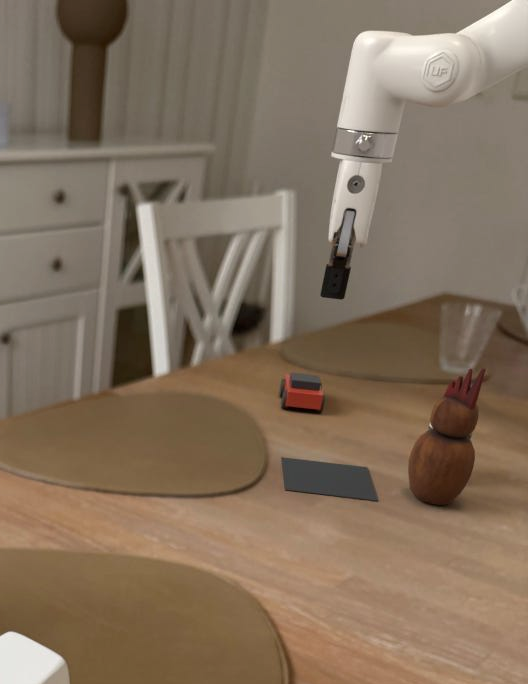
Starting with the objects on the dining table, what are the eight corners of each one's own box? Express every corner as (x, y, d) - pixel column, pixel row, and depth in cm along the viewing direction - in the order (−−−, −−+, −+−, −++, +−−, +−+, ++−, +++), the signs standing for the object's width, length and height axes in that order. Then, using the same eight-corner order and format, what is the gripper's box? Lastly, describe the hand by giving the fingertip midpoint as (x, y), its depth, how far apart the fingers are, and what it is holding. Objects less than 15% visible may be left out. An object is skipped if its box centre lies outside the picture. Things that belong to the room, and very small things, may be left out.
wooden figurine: (469, 511, 106) (512, 374, 98) (418, 510, 105) (457, 372, 97) (442, 486, 111) (481, 355, 103) (394, 485, 111) (429, 352, 103)
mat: (367, 467, 115) (367, 467, 115) (377, 501, 107) (377, 500, 107) (281, 457, 116) (281, 457, 116) (285, 490, 108) (285, 489, 108)
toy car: (328, 387, 129) (286, 382, 129) (322, 415, 131) (281, 410, 131) (323, 370, 135) (283, 366, 136) (317, 397, 137) (278, 392, 138)
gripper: (395, 154, 116) (359, 312, 126) (393, 145, 128) (360, 289, 138) (331, 148, 117) (300, 305, 127) (335, 139, 130) (307, 283, 140)
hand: (332, 296), depth 133 cm, fingers closed
